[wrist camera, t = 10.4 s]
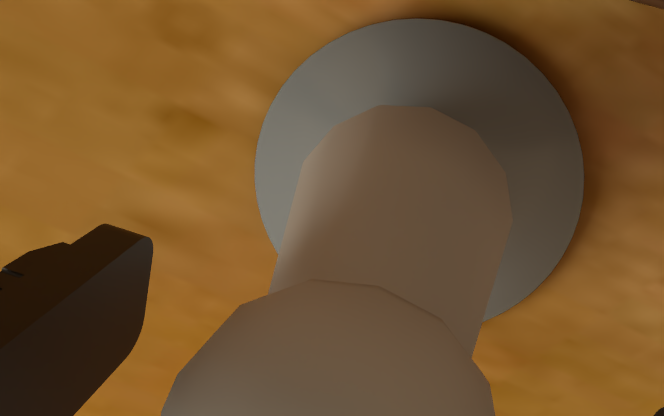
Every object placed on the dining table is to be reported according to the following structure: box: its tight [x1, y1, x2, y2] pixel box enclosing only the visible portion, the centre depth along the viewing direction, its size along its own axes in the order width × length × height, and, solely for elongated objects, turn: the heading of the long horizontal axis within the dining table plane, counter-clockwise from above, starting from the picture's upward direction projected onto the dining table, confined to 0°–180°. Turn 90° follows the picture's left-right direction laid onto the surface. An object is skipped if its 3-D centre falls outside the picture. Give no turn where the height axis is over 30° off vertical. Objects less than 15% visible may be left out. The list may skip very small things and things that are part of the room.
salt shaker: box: [161, 105, 513, 416], centre depth 13 cm, size 6×6×13 cm
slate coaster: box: [255, 18, 584, 322], centre depth 19 cm, size 10×10×1 cm
